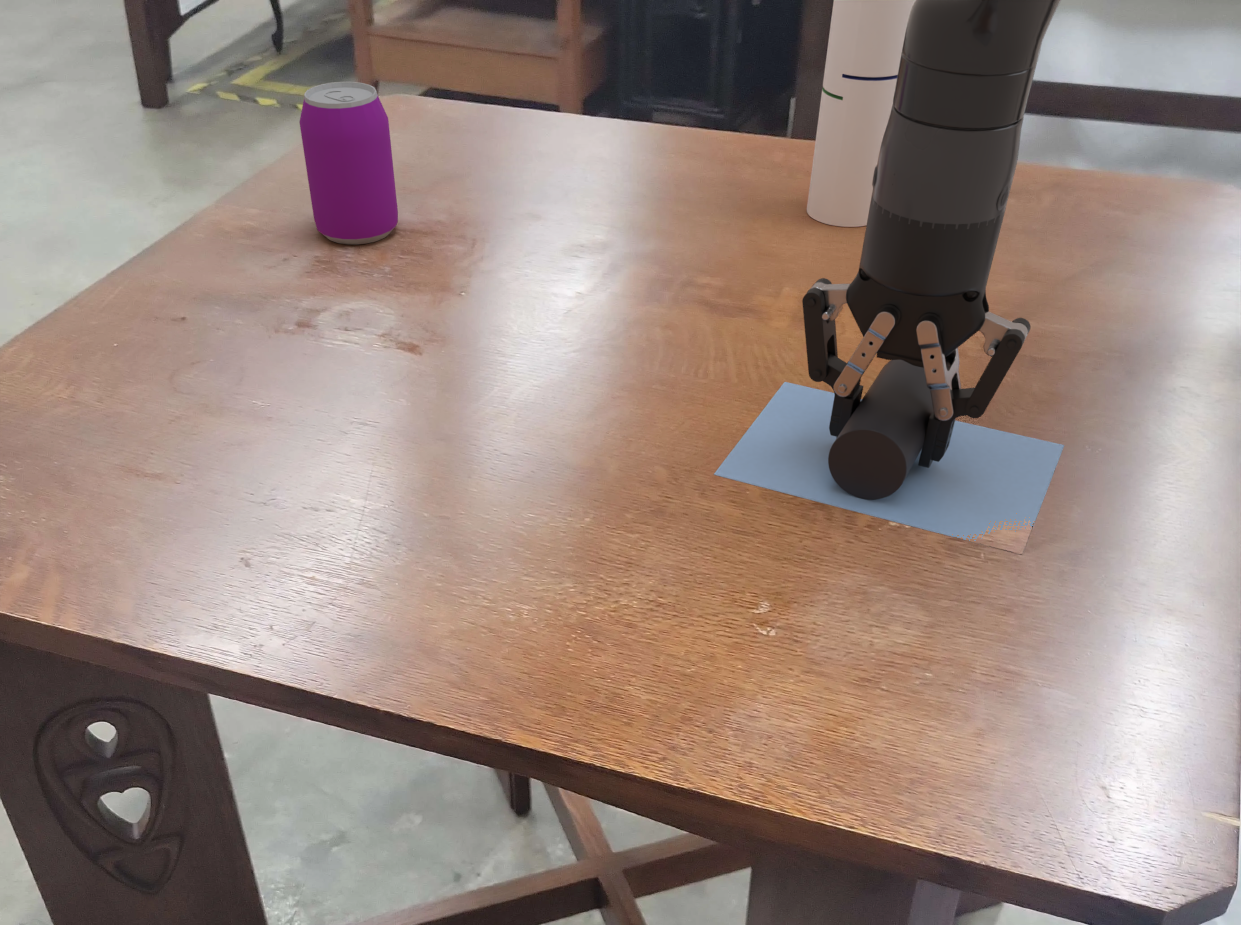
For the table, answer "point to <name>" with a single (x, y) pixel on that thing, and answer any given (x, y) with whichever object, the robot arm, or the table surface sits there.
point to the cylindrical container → (855, 106)
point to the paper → (928, 498)
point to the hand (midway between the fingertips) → (884, 449)
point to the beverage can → (349, 162)
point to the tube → (883, 433)
